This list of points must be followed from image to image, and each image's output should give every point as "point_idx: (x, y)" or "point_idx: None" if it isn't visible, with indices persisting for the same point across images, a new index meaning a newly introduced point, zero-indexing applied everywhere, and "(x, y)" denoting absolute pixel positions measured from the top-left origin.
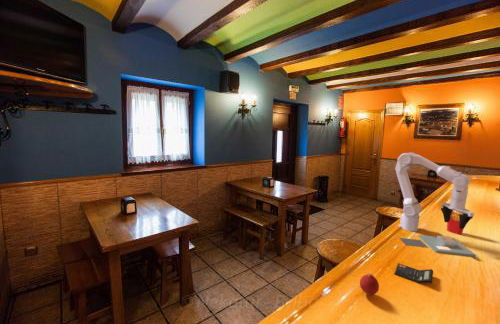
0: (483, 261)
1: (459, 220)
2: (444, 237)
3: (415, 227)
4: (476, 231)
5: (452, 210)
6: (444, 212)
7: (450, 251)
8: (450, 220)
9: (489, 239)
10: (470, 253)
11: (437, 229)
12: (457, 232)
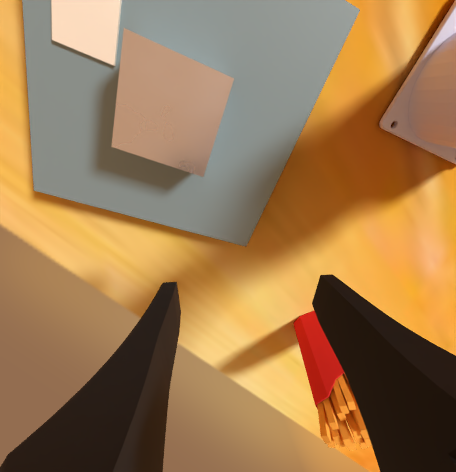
0: (30, 201)
1: (332, 384)
2: (186, 113)
3: (450, 86)
4: (296, 378)
5: (384, 470)
6: (426, 367)
7: (34, 10)
8: None
9: (240, 370)
10: (45, 169)
11: (365, 278)
12: (304, 322)
